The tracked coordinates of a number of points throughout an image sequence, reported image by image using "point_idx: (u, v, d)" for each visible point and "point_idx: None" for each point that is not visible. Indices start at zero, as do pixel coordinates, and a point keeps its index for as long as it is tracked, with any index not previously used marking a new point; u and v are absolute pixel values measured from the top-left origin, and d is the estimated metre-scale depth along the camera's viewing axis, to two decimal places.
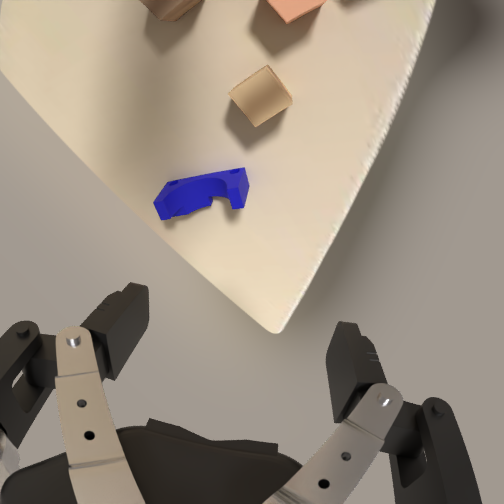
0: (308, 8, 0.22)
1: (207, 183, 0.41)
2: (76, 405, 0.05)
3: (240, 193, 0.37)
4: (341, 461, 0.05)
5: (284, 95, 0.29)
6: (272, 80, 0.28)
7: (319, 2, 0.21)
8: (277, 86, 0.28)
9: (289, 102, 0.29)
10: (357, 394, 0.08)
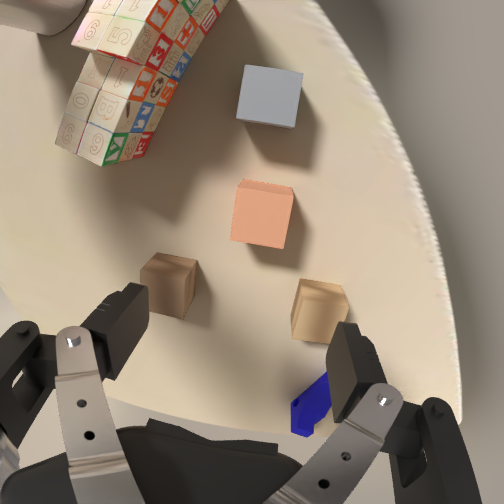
0: (287, 220, 0.27)
1: (323, 388, 0.39)
2: (76, 405, 0.05)
3: None
4: (341, 461, 0.05)
5: (337, 306, 0.30)
6: (317, 304, 0.30)
7: (290, 205, 0.26)
8: (325, 305, 0.30)
9: (346, 308, 0.30)
10: (357, 394, 0.08)
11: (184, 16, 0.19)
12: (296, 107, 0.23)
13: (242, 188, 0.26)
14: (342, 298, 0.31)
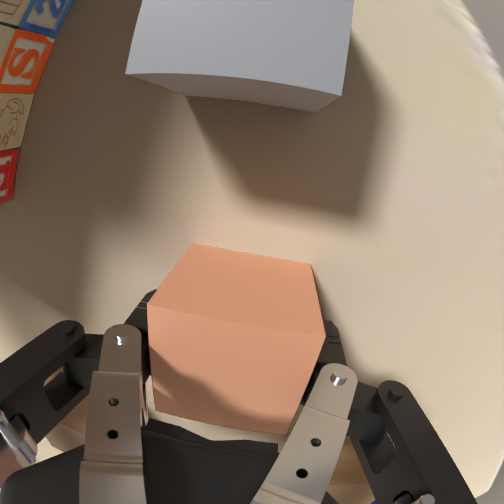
0: (301, 389, 0.09)
1: None
2: (107, 402, 0.05)
3: None
4: (313, 448, 0.05)
5: None
6: (346, 485, 0.12)
7: (312, 357, 0.08)
8: (360, 484, 0.12)
9: None
10: (313, 374, 0.09)
11: None
12: (346, 26, 0.05)
13: (162, 308, 0.08)
14: None
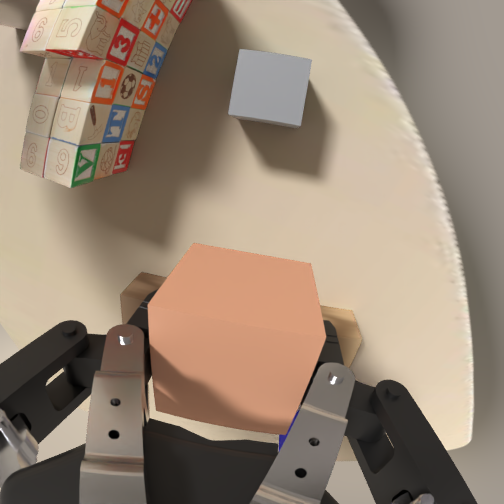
0: (301, 389, 0.09)
1: None
2: (109, 402, 0.05)
3: None
4: (311, 448, 0.05)
5: (348, 339, 0.25)
6: None
7: (312, 357, 0.08)
8: None
9: (358, 340, 0.25)
10: None
11: None
12: (303, 101, 0.18)
13: (163, 309, 0.08)
14: (354, 328, 0.26)
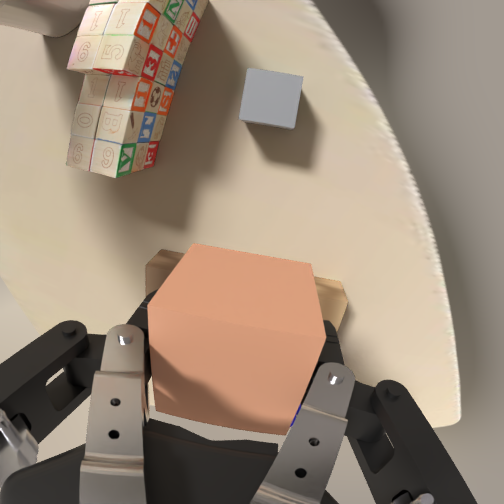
0: (301, 389, 0.09)
1: None
2: (109, 402, 0.05)
3: None
4: (311, 448, 0.05)
5: (336, 301, 0.31)
6: None
7: (312, 358, 0.08)
8: (325, 299, 0.31)
9: (344, 303, 0.31)
10: None
11: (168, 26, 0.20)
12: (296, 109, 0.24)
13: (163, 309, 0.08)
14: (341, 293, 0.32)
